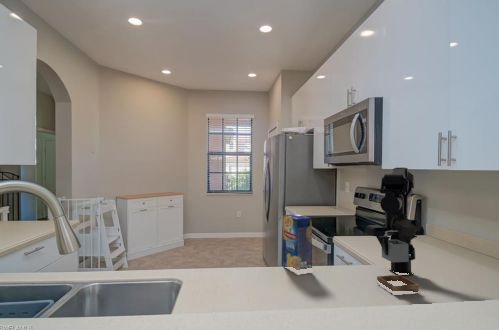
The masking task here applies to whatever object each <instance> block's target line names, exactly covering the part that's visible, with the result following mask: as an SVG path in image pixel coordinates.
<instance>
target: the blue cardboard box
mask: <svg viewBox="0 0 499 330" xmlns="http://www.w3.org/2000/svg"><path fill="white" fill-rule="evenodd" d="M282 216H283V217H282V219H283V220H282V221H283V223H282V224H283V225H282V227H283V229H282V230H283V233H282V235H283V237H282V238H283V249H282V250H283V251H282V253H283V257H282V258H283V268H284V267H293V268H295V269H296V270H300V269H307V268H312V269H313V237H312V236H313V233H312V232H313V231H312V230H313V229H312V228H313V226H312V225H313V223H312V220H313V219H312V217H310V216H305V215H303V214H298V213H295V214H293V213H292V214H283V215H282Z"/></svg>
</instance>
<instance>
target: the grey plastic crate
mask: <svg viewBox="0 0 499 330" xmlns="http://www.w3.org/2000/svg"><path fill="white" fill-rule="evenodd" d="M409 255H410V254H409V250H408V244H407V243H405V242H402V241H399V240H390V239H389V240H388V255H387V256H386V255H385V254H384V251H383V249H382V248H381V258H383V259H384V260H387V261H389V262H390V263H391V262H409Z"/></svg>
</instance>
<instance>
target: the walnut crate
mask: <svg viewBox="0 0 499 330" xmlns="http://www.w3.org/2000/svg"><path fill="white" fill-rule="evenodd" d="M377 280H378V281H379V282H380V283H382V284H383V285H385V286H386V287H388V288H389V289H391V290H392V291H413V292H418V291H419V292H420V285H419V284H418V283H417V282H414V281H412V280H411V279H409V278H407V277H405V276H404V275H403V276H402V275H397V274H391V275H389V274H388V275H378V276H376V281H377ZM391 280H392V281H397V280H398V281H402V282H403V283H405V284H407V285H402V286H393V285H392V284H390V283H388V282H387V281H391Z"/></svg>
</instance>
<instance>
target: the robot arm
mask: <svg viewBox="0 0 499 330" xmlns="http://www.w3.org/2000/svg"><path fill="white" fill-rule="evenodd" d="M413 189H415V177H414V174H412V172H410V171H409V169H408V167H394V168H393V171H392V172H391V173H385V174H384V175H383V176H382V177H381V182H380V192H379V193H380V194H381V195H382V194H383V195H384V197H382V199H381V200H380V204H379V205H380V208H381V210H383V212H382V214H383V216H385V222H384V223H383V225H382V226H380V225H377V224H375V225H374V224H368V225H367V226H366V227H365V234H367V235H370V236H372V237H375V238H376V239H377V241H378V244H379V245H380V247H381V250H382V249H383V251H384V254H385V255H386V256H387V255H388V240H399V241H402V242H405V243H407V244H408V250H409V262H391V261H390V269H391V270H392V271H394V272H399V273H407V274H408V273H409V274H412V273H413V274H414V275H415V273H414V272H412V261H414V260H416V250H415V249H416V248H415V247H414V244H413V243H412V240H413V239H416V238H417V237H418V236H424V235H425V229H424V227H423V226H422V225H421V221H420V220H419V219H412V220H409V219H408V207H409V198H410V197H411V196H412V194H413ZM388 234H391V235H390V236H388ZM392 271H391V272H392ZM394 272H393V273H394Z"/></svg>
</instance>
